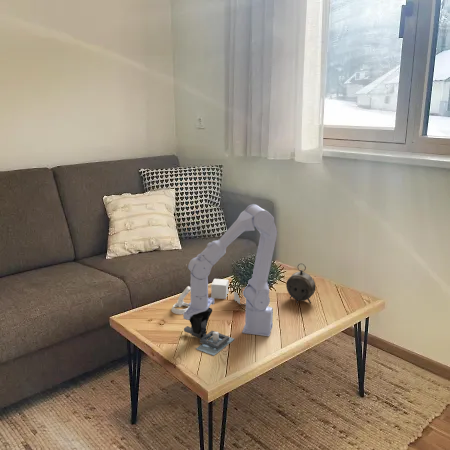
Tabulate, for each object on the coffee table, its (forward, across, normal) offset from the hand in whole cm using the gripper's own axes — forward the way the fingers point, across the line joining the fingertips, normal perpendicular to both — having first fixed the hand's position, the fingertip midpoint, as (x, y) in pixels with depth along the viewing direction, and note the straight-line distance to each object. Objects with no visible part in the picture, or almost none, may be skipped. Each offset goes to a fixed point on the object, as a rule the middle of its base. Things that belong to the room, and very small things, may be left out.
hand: (199, 330), depth 156 cm
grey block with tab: (+2, 0, +2) cm, 3 cm away
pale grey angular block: (+3, -34, -3) cm, 34 cm away
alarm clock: (+3, -45, +16) cm, 48 cm away
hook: (+3, -13, -18) cm, 23 cm away
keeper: (+3, 0, +6) cm, 7 cm away
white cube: (+3, -32, -14) cm, 35 cm away
